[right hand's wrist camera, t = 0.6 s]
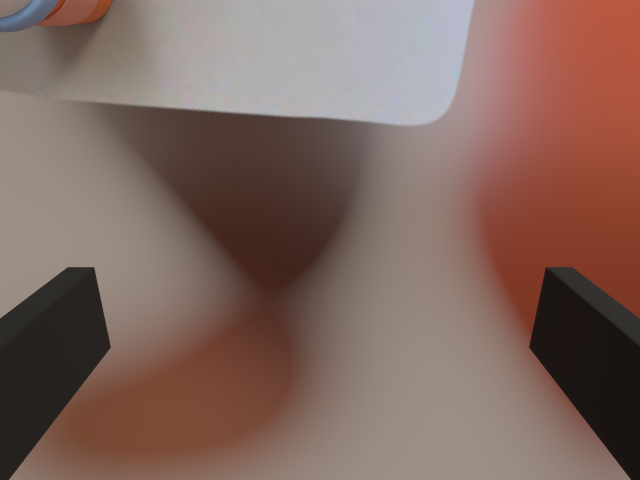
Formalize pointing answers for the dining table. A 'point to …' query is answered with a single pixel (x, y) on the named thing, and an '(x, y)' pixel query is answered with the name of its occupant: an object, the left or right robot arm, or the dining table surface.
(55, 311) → the right robot arm
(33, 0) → the cup with straw
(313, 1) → the dining table surface
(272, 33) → the dining table surface
